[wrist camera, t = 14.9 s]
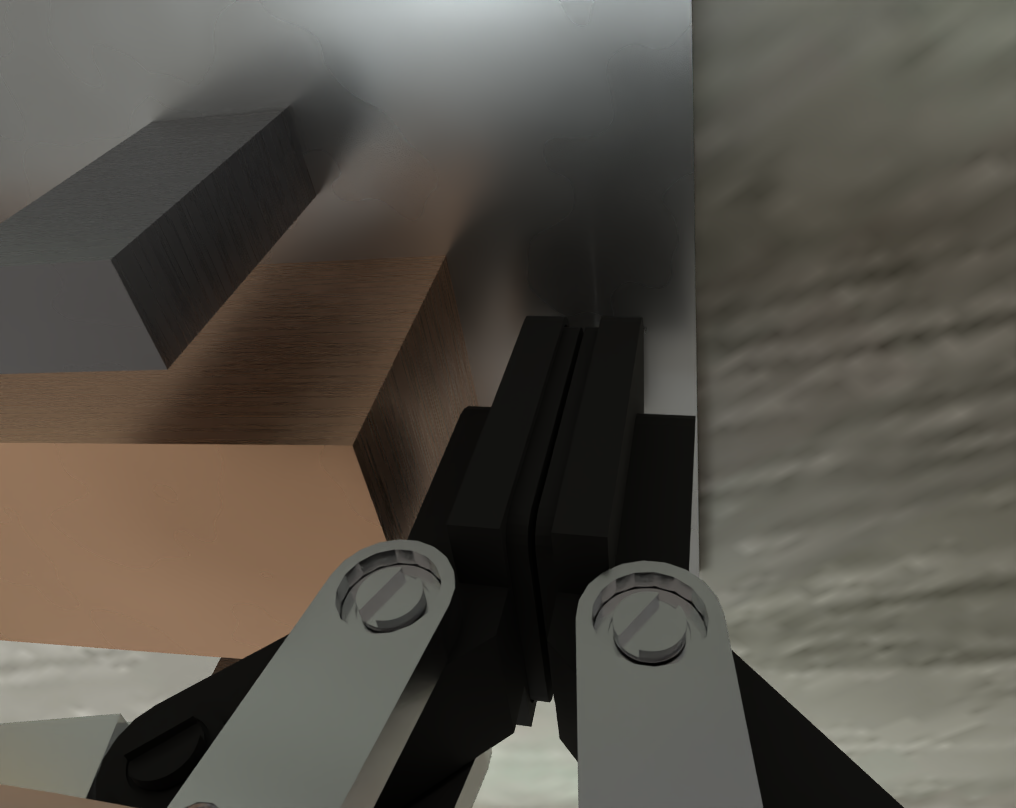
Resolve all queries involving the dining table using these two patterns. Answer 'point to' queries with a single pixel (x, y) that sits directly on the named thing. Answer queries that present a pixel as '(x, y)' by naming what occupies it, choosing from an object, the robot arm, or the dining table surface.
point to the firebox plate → (346, 169)
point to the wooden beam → (230, 462)
